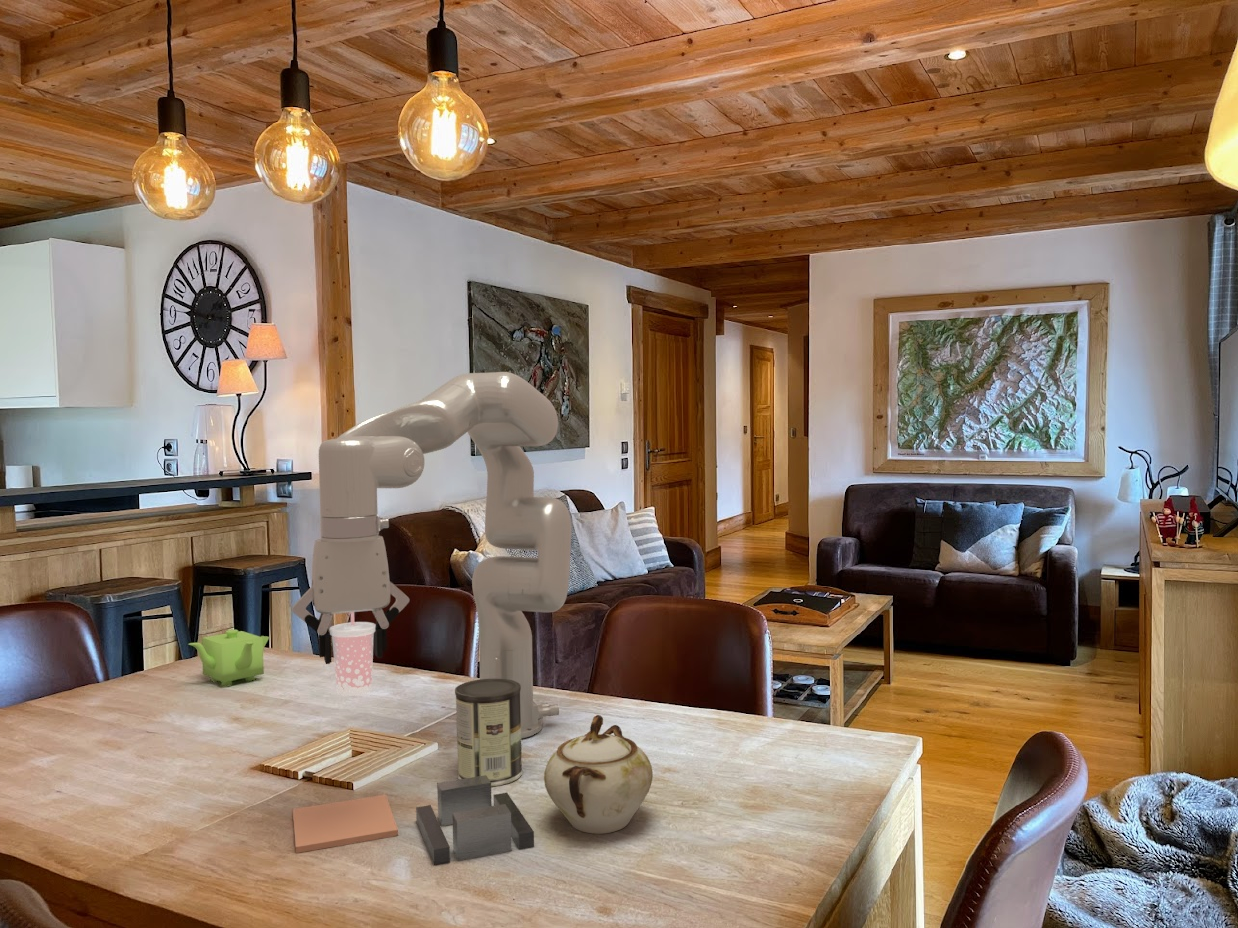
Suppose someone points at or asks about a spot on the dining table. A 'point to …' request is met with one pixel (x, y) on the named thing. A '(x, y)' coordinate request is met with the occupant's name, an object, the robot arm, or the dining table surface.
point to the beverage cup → (353, 656)
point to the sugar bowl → (598, 779)
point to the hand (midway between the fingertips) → (353, 657)
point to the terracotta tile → (343, 823)
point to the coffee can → (489, 730)
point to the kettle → (232, 656)
